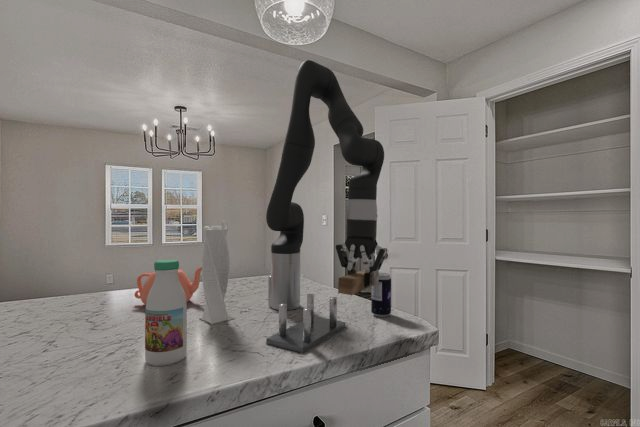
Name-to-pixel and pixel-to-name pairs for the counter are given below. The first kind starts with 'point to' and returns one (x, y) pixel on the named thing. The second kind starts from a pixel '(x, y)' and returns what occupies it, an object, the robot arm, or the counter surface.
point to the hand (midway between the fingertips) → (359, 285)
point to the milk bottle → (166, 316)
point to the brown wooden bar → (355, 282)
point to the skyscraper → (215, 274)
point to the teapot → (184, 281)
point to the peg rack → (306, 328)
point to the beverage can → (381, 296)
